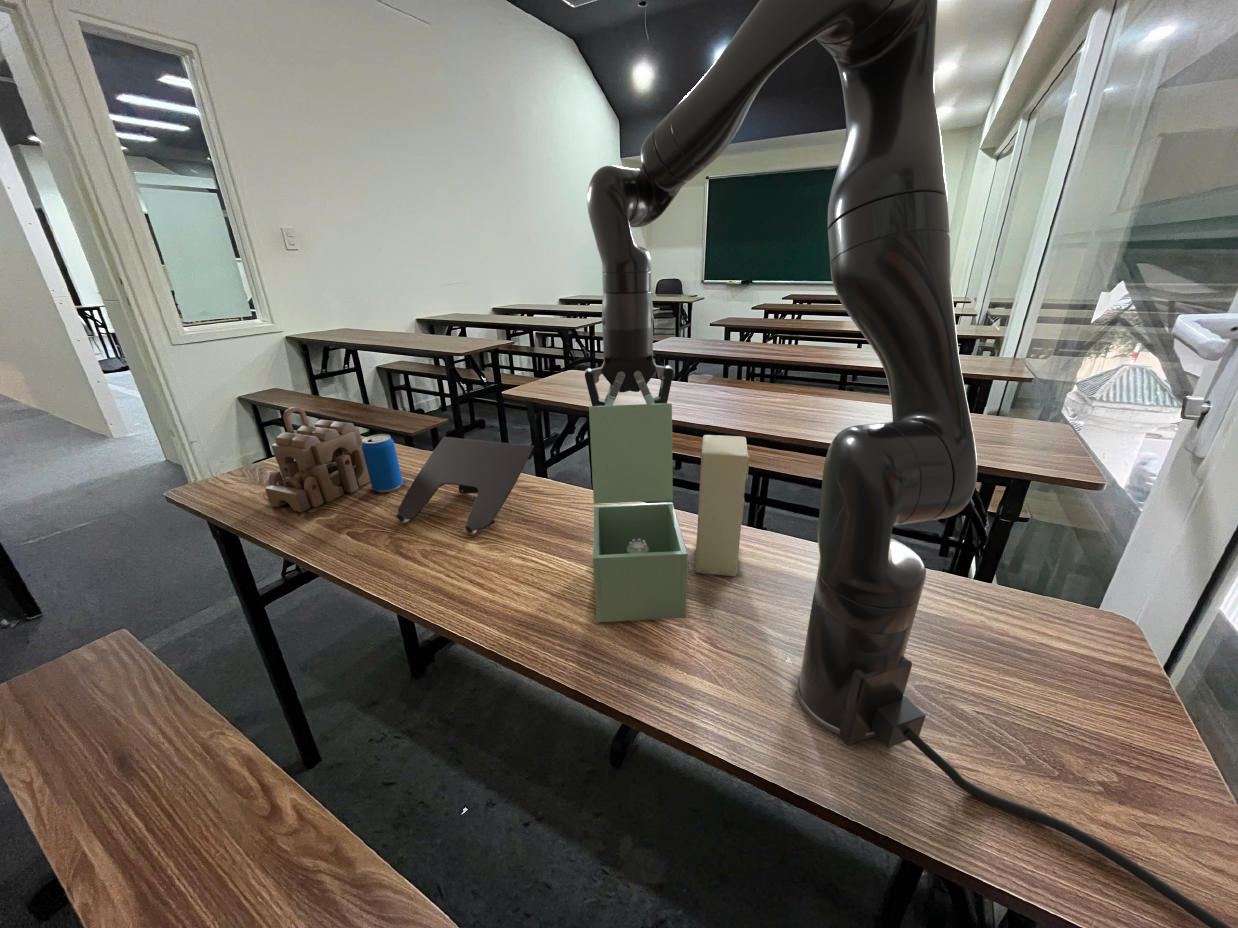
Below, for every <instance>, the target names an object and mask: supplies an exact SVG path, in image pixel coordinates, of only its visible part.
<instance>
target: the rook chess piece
mask: <svg viewBox="0 0 1238 928" xmlns="http://www.w3.org/2000/svg"><path fill="white" fill-rule="evenodd" d="M648 551H649V547H648V546H647V545H646V541H645V540H643V541H642V542H641V539H638V541H635V539H633V540H632V542H629V546H628V547H627V552H628V553H629V554H630V553H647V552H648Z"/></svg>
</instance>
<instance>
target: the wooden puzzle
mask: <svg viewBox="0 0 1238 928" xmlns="http://www.w3.org/2000/svg"><path fill="white" fill-rule="evenodd" d="M294 412H295V413H296V412H298V413H299V417H300V421H301V424H302V425H301V426H300V427H298V429H296V433H295V430H294V427H293V424H292V421H291V418H290V417H291V414H293V413H294ZM282 418H283V422H284V425H285V428H286V431H285V432H284V431H282V432H280V433H279V434H278V435H277V436H276V437H275V443H273V444H271V449H272V452H273V454H274V457H275V461H276V463H277V465H278V468H279V471H276V470H273V471H272V472H271V473H270V474H269V477H268V484H269V486H266V487H265V488H264V490H265V493H266V496H267V498H268V501H269V504H270V506H272V507H276V508H280V507H282V506H285V505H287V504H289V506H290V507H291V509H292V511H294V512H299V513H304V512H306V511H307V510H309V509H311V507H312V508H317V507H319V506H321V505H323V504H324V503H330V502H332V501H333V500H336V499H338V498H339V497H341V496H344V495H345V492H346V493H353V492H356V491H358V490H359V489H360V488H361V487H362V486H364V485H366V484H368V483H371V481H370V477H369V474H368V470H367V466H366V462H365V458H364V454H363V450H362V444H363V442H362V440H363V439H362V436H361V432H360V429H359V428H357V427H356V426H355V425H354V423H352V422H346V421H345V422H344V421H337V420H329V419H319V420H318V421H317V422H316V423H314V426H313V425H310V424H309V420H308V416H307V414H306V411H305V410H304V409H303V408H302V407H299V406H292V407H289V408H287V409H285V410H284V412H283V415H282Z"/></svg>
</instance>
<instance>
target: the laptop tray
mask: <svg viewBox="0 0 1238 928" xmlns="http://www.w3.org/2000/svg"><path fill="white" fill-rule="evenodd" d="M534 448H535V445H530V444H529V445H528V444H518V443H510V442H509V443H508V442H499V441H490V440H480V439H469V438H460V437H459V438H458V437H451V436H443V437H442V438H441V440H440V441H439V442H438V444H437V445H436V447H435V448H434V450H433V451H432V453H431V454H430V456H429V457H428V458H427V459H426V461H425V463H424V464H423V465H422V468H421V469H420V470H419V472H418V474H417V475H416V477H415V478H414V480H413V482H412V483H411V485H410V486H409V488H408V490H407V492H406V493H405V495H404V497H403V499H402V500H401V503H400V504H399V506H398V509H397V514H396V516H395V517H396V518H397V520H399V522H401V524H407V523H408V522H409V521H410V520H414V519H415V518H416V517H417V516H418V515H419V514H420V512H421V511H422V510H423V509H424V508H425V507H426V505H427V504H428V503H429V502H430V500H431V499H432V498H433V496H434V495H435V494H436V492H437V491H438V490H439V489H440V488H441V487H442V486H445V485H453V486H458V492H459V493H460V494H461V495H469V494H477V495H476V497H475V499H474V502H473V504H472V506H471V509H470V512H469V515H468V518H467V520H466V524H465V526H464V529H465V530H466V531H467V532H468V534H469V535H471V536H474V535H475V534H476V533H477V531H479V530H484V529H486V528H490V527H491V526H492V525H494V524H495V522H496V521H495V520H494V519H495V518H496V517H497V515H498V514H499V512H500V511H501V509H502V508H503V506H504V504H505V503H506V501H507V499H508V498H509V496H510V494H511V493H512V491H513V489H514V487H515V485H516V483H517V481H518V480H519V477H520V476H521V473H522V472H523V470H524V468H525V466H526V464H527V462H528V460H529V458H530V456H531V453H532V451H533V449H534Z"/></svg>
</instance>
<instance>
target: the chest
mask: <svg viewBox="0 0 1238 928" xmlns="http://www.w3.org/2000/svg"><path fill="white" fill-rule="evenodd" d="M592 535H593V537H592V538H593V540H592V542H593V543H592V563H593V565H592V566H593V580H594V582H593V583H594V598H595V600H594V601H595V614H596V623H613V622H632V621H633V622H634V621H635V622H636V621H651V620H652V621H653V620H672V619H673V620H674V619H686V617H687V594H688V593H687V591H688V567H689V565H688V564H689V552H688V549H687V546H686V543H685V540H684V537H683V533H682V530H681V527H680V523H679V519H678V516H677V513H676V509H675V507H674V503H673V502H670V501H668V502H650V503H649V502H648V503H626V504H603V505H601V504H600V505H594V506H593V534H592ZM633 539H635V541H638V539H641V542H642V541H643V540H645V541H646V545H647V546H648V547H649V551H648V552H647V553H630V554H629V553H628V552H627V547H628V546H629V542H632V540H633Z"/></svg>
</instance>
